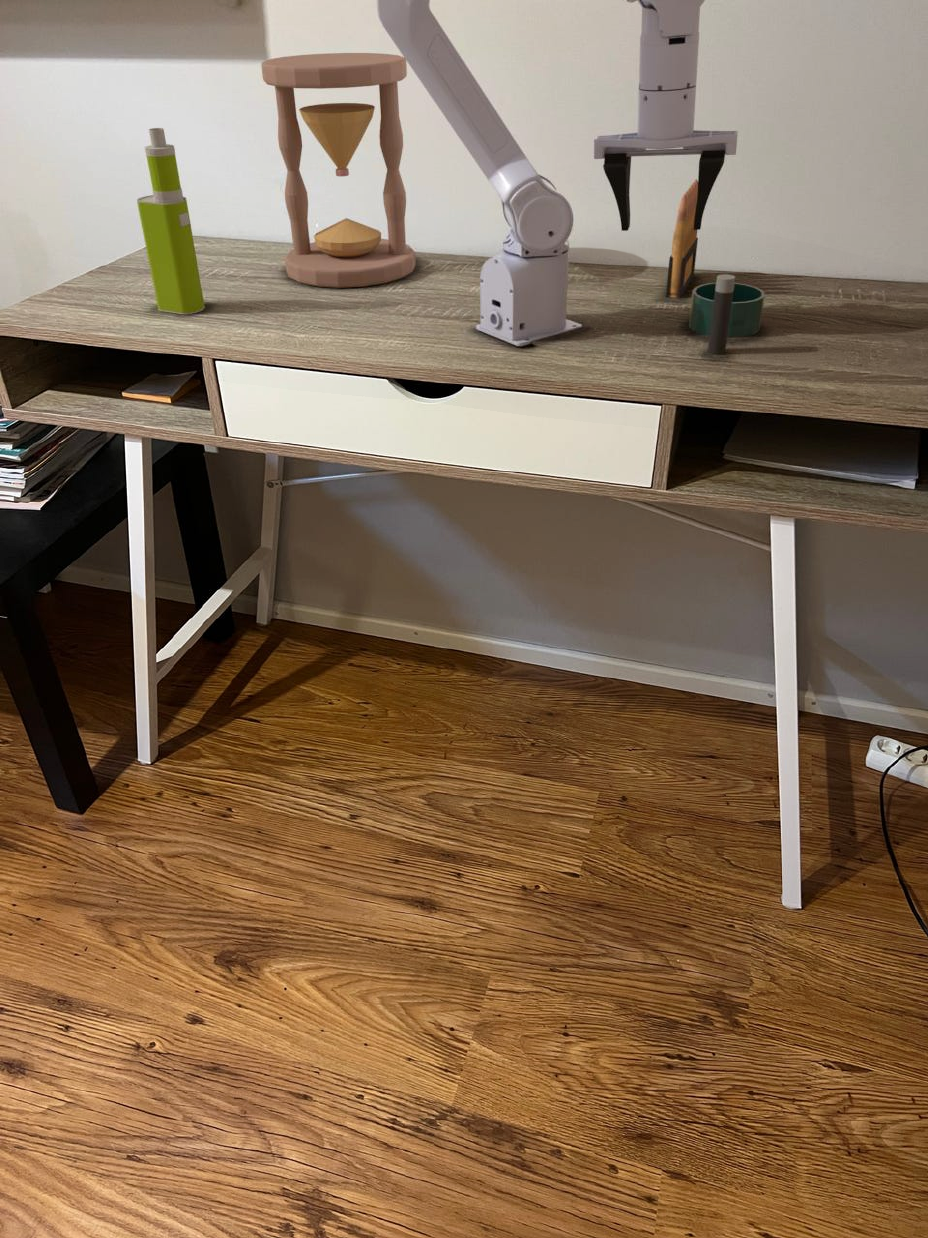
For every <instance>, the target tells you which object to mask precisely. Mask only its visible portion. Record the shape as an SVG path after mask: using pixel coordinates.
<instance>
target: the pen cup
mask: <svg viewBox="0 0 928 1238" xmlns="http://www.w3.org/2000/svg"><path fill="white" fill-rule="evenodd" d="M715 289H716V282H709V283H703V284H699V285H698V286H695V287H694V288H693V289H692V292H691V299H690V308H689V317H688V327H689V328H690V329H691V330H692V331H694V332H696V333H698V334H701V335H705V336H710V328H711V320H712V312H713V304H714V296H715ZM765 298H766V293H765V292H764V290H762V289H760V288H759V287H757V286H753V285H750V284H745V283H738V282H735V284H734V291H733V298H732V306H731V313H730V320H729V327H728V335H727V339H729V338H730V339H732V338H734V339H735V338H744V337H749V336H752V335H755V334H757V333H758V332H759V331H760V329H761V324H762V317H763V313H764V312H763V310H764V304H765Z"/></svg>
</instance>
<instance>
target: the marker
mask: <svg viewBox="0 0 928 1238" xmlns="http://www.w3.org/2000/svg"><path fill="white" fill-rule="evenodd" d="M715 283H716V289H715V296H714V304H713V312H712V320H711V328H710V336H709V337H708V345H707V353H708V354H710V355H715V356H720V355H725V354H726V349H727V341H728V338H727V335H728V327H729V320H730V313H731V306H732V298H733V291H734V284H735V283H736V276H735V275H733V274H727V273H723V274H719V275H717V276H716V282H715Z"/></svg>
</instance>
